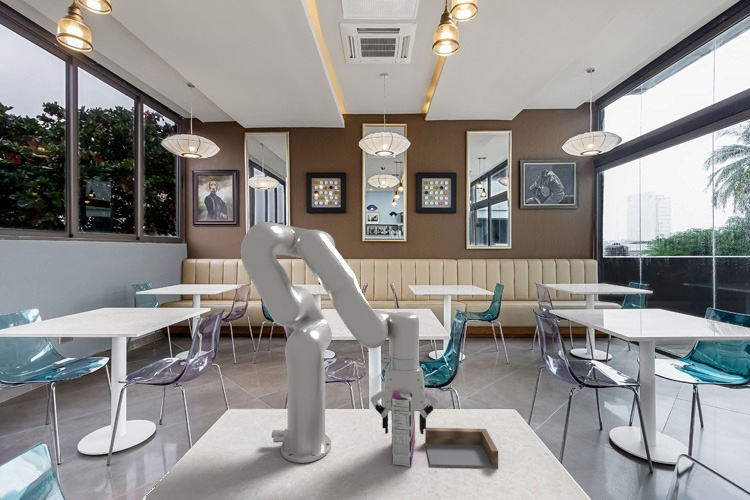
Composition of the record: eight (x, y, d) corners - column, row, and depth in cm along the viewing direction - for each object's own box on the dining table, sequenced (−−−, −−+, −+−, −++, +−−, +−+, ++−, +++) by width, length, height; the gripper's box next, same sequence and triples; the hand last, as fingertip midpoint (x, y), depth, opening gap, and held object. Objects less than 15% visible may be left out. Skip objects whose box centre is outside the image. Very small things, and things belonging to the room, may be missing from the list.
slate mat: (430, 466, 81) (430, 464, 81) (425, 442, 91) (425, 440, 91) (498, 468, 80) (498, 466, 80) (485, 443, 90) (485, 442, 90)
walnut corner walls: (430, 466, 81) (430, 449, 81) (425, 442, 91) (425, 427, 91) (498, 468, 80) (498, 451, 80) (485, 443, 90) (485, 428, 90)
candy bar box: (396, 440, 92) (397, 379, 92) (415, 442, 91) (415, 380, 91) (390, 465, 81) (390, 396, 81) (411, 468, 80) (411, 398, 80)
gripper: (368, 366, 83) (368, 438, 83) (441, 367, 82) (441, 440, 82) (370, 357, 90) (370, 423, 90) (436, 357, 90) (436, 424, 90)
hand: (404, 430), depth 86 cm, fingers open, 8 cm apart
